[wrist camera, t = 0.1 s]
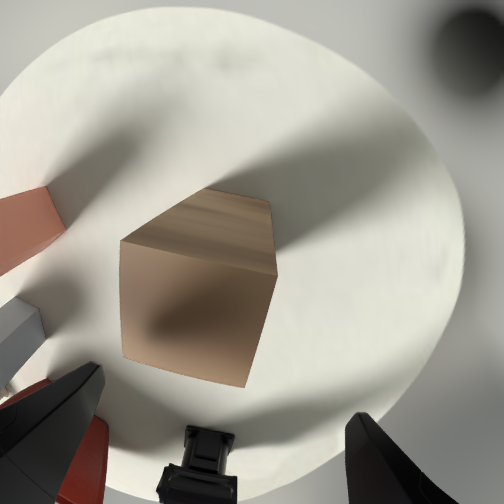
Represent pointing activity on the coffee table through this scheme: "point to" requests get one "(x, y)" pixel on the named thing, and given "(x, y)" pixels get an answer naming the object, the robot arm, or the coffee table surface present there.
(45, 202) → the salmon block
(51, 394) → the robot arm
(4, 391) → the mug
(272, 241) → the walnut pillar
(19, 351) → the slate pillar
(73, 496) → the plant pot
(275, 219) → the coffee table surface
